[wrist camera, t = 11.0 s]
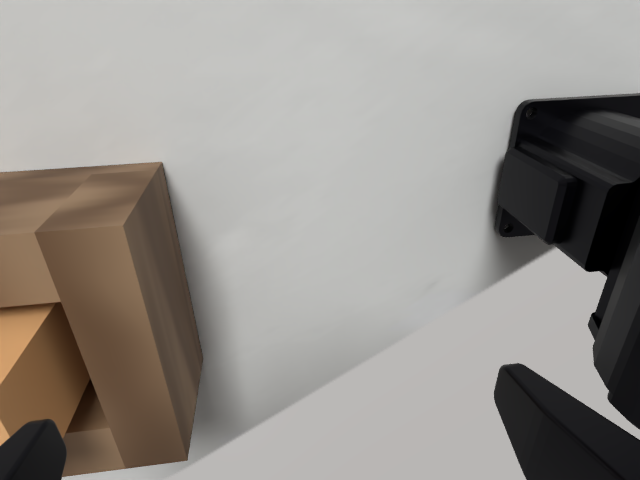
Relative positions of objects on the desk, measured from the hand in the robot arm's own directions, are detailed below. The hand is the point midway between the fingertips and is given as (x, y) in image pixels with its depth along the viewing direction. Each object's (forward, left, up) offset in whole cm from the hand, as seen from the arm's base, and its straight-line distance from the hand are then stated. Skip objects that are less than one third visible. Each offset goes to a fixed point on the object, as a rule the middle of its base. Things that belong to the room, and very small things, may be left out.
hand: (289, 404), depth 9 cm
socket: (+10, +4, -12) cm, 16 cm away
